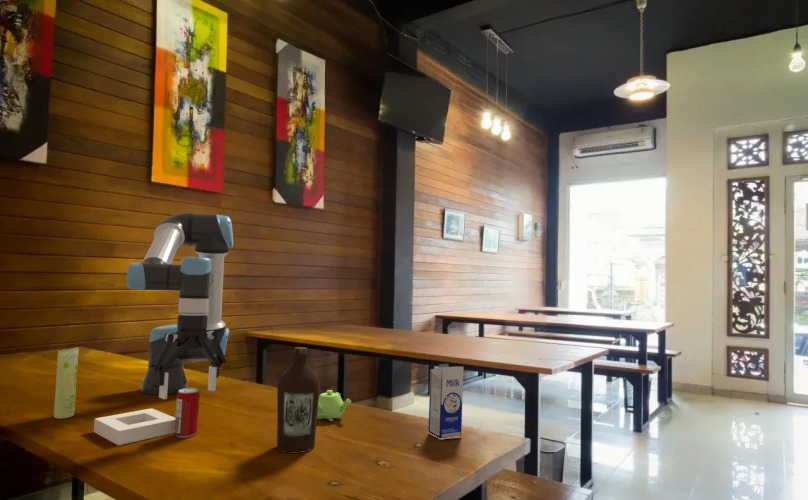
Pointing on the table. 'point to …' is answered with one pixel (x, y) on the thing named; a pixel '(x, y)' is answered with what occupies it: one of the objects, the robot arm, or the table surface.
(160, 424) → the socket block
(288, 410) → the olive oil
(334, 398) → the teapot
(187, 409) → the soda can
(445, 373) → the milk carton
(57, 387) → the tube
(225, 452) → the table surface
